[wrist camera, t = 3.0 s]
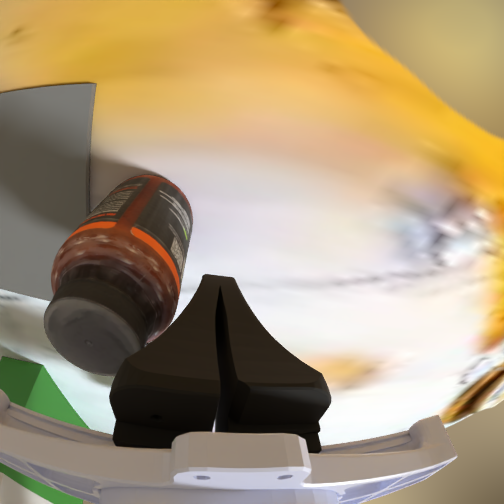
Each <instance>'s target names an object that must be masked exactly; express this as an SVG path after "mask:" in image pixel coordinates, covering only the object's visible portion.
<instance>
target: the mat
mask: <svg viewBox="0 0 504 504" xmlns="http://www.w3.org/2000/svg"><path fill="white" fill-rule="evenodd" d="M95 91H96V84H73V85H59V86H49V87H40V88H32V89H24V90H18V91H12V92H6V93H0V289H4V290H7V291H11V292H15V293H19V294H23V295H27V296H31V297H35V298H39V299H43V300H47V301H52V299H53V296H54V294H53V290H52V286H51V271H52V266H53V262H54V259H55V257H56V255H57V253H58V251H59V249H60V248H61V246H62V245H63V244H64V242H65V241H66V240H67V239H68V238H69V237H70V235H71V234H72V233H73V232H74V231H75V230H76V229H77V228H78V226H79V225H80V224H81V223H82V222H83V221H84V220H85V219H86V218H87V217H88V216H89V215H90V208H89V166H90V143H91V128H92V117H93V107H94V99H95Z"/></svg>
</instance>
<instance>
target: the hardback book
mask: <svg viewBox="0 0 504 504" xmlns="http://www.w3.org/2000/svg"><path fill="white" fill-rule="evenodd" d="M0 389H1V390H2V391H4V392H5V394H6V395H7V396H8V398H9V400H10V402H12V403H15V404H17V405H19V406H22V407H24V408H27V409H29V410H32V411H34V412H37V413H40V414H43V415H45V416H48V417H51V418H54V419H57V420H60V421H63V422H66V423H70V424H73V425H76V426H80V427H83V428H87V429H89V427H88V426H87V425H86V424H85V423H84V421H83V420H82V419H81V418H80V416H79V415H78V414H77V413H76V411H75V410H74V409H73V407H72V406H71V405H70V403H69V402H68V401H67V399H66V398H65V397H64V395H63V394H62V393H61V391H60V390H59V388H58V387H57V385H56V384H55V382H54V381H53V379H52V378H51V376H50V375H49V373H48V372H47V370H46V369H45V367H44V366H43V365H41V364H35V363H30V362H26V361H21V360H16V359H12V358H8V357H4V356H3V357H2V359H1V361H0ZM0 504H83V500H82V499H79V498H77V497H74V496H71V495H69V494H66V493H64V492H61V491H59V490H56V489H54V488H51V487H49V486H47V485H45V484H42V483H40V482H38V481H36V480H34V479H32V478H30V477H28V476H26V475H24V474H22V473H20V472H18V471H16V470H14V469H12V468H10V467H8V466H6V465H4V464H2V463H1V462H0Z"/></svg>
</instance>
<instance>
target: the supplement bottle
mask: <svg viewBox="0 0 504 504" xmlns="http://www.w3.org/2000/svg"><path fill="white" fill-rule="evenodd" d="M192 225H193V216H192V210H191V207H190V204H189V201H188V200H187V198H186V196H185V195H184V193H183V192H182V191H181V190H180V189H179V188H178V187H177V186H176V185H175V184H173V183H172V182H170V181H168V180H166V179H164V178H161V177H158V176H152V175H141V176H136V177H133V178H130V179H128V180H126V181H125V182H123V183H122V184H120V185H119V186H117V187H116V188H115V189H114V190H113V191H112V192H111V193H110V194H109V195H108V196H107V197H106V198H105V199H104V200H103V201H102V202H101V203H100V204H99V205H98V206H97V207H96V208H95V209H94V210H93V211H92V212H91V214H90V215H89V216H88V217H87V218H86V219H85V220H84V221H83V222H82V223H81V224H80V225H79V226H78V228H77V229H76V230H75V231H74V232H73V233H72V234H71V235H70V237H69V238H68V239H67V240H66V241H65V242H64V244H63V245H62V246H61V248H60V249H59V251H58V253H57V255H56V257H55V259H54V262H53V266H52V271H51V286H52V290H53V294H54V296H53V299H52V301H51V302H50V304H49V305H48V307H47V309H46V311H45V314H44V328H45V331H46V334H47V337H48V338H49V340H50V342H51V343H52V345H53V346H54V347H55V349H56V350H57V351H58V352H59V353H60V354H61V355H62V356H63V357H64V358H65V359H66V360H68V361H69V362H71V363H72V364H74V365H75V366H77V367H79V368H81V369H83V370H85V371H88V372H91V373H95V374H99V375H103V376H116V374H117V372H118V370H119V368H120V366H121V364H122V363H123V361H124V359H125V358H127V357H129V356H130V355H132V354H134V353H136V352H137V351H139V350H141V349H142V348H144V347H145V344H146V343H148V342H150V341H153V340H154V339H156V338H157V337H158V336H159V335H161V334H162V333H163V332H164V331H165V330H166V329H167V328H168V327H169V325H170V324H171V322H172V320H173V317H174V315H175V312H176V309H177V305H178V299H179V294H180V289H181V283H182V278H183V272H184V268H185V262H186V257H187V252H188V247H189V242H190V238H191V233H192Z"/></svg>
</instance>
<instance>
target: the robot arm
mask: <svg viewBox="0 0 504 504" xmlns="http://www.w3.org/2000/svg"><path fill="white" fill-rule="evenodd" d="M109 399H110V404H111V407H112V410H113V413H114V415H115V418H116V423H115V428H114V433H113V435H111V434H107V433H103V432H99V431H95V430H91V429H87V428H83V427H80V426H76V425H73V424H70V423H66V422H63V421H60V420H57V419H54V418H51V417H48V416H45V415H43V414H40V413H37V412H34V411H32V410H29V409H27V408H24V407H22V406H19V405H17V404H15V403H12V402H10V400H9V398H8V396H7V395H6V394H5V392H4V391H2V390H1V389H0V462H1V463H2V464H4V465H6V466H8V467H10V468H12V469H14V470H16V471H18V472H20V473H22V474H24V475H26V476H28V477H30V478H32V479H34V480H36V481H38V482H40V483H42V484H45V485H47V486H49V487H51V488H54V489H56V490H59V491H61V492H64V493H66V494H69V495H71V496H74V497H77V498H79V499H82V500H86V501H88V502H91V503H95V504H360V503H363V502H366V501H369V500H372V499H375V498H378V497H381V496H384V495H387V494H390V493H392V492H395V491H397V490H400V489H403V488H405V487H408V486H411V485H413V484H415V483H418V482H421V481H423V480H425V479H426V478H428V477H430V476H431V475H433V474H434V473H436V472H437V471H439V470H440V469H442V468H443V467H444V466H446V465H447V464H449V463H450V462H451V461H453V460H454V459H455V458H457V453H456V451H455V449H454V447H453V445H452V442H451V440H450V438H449V436H448V434H447V432H446V430H445V427H444V425H443V423H442V421H441V419H440V417H439V415H435V416H432V417H428V418H425V419H421V420H419V421H417V422H416V423H415V424H413V425H412V426H411V427H410V428H409V430H407V431H403V432H399V433H395V434H390V435H386V436H381V437H376V438H371V439H366V440H360V441H354V442H348V443H341V444H334V445H326V446H321V444H320V440H319V436H318V433H319V432H320V425H319V422H318V421H319V420H320V418H321V417H322V416H323V414H324V413H325V412H326V410H327V409H328V408H329V406H330V404H331V395H330V392H329V389H328V386H327V384H326V381H325V379H324V377H323V375H322V373H320V372H318V371H317V370H315V369H313V368H312V367H310V366H308V365H307V364H305V363H304V362H302V361H301V360H299V359H298V358H297V357H295V356H294V355H292V354H291V353H290V352H289V351H287V350H286V349H285V348H284V347H283V346H282V345H281V344H280V343H278V342H277V341H276V340H275V339H274V338H273V337H272V336H271V335H270V334H269V332H268V331H267V330H266V329H265V328H264V327H263V325H262V324H261V323H260V322H259V320H258V319H257V317H256V316H255V315H254V313H253V312H252V310H251V309H250V307H249V305H248V304H247V302H246V300H245V299H244V297H243V295H242V293H241V291H240V289H239V287H238V285H237V283H236V280H235V279H234V278H233V277H225V276H217V275H209V274H205V275H203V276H202V280H201V283H200V285H199V287H198V289H197V291H196V293H195V294H194V296H193V298H192V299H191V301H190V302H189V304H188V305H187V306H186V308H185V309H184V310H183V312H182V313H181V314H180V315H179V317H178V318H177V319H176V320H175V321H174V322H173V323H172V324H171V325H170V326H169V327H168V328H167V329H166V330H165V331H164V332H163V333H162V334H161V335H159V336H158V337H157V338H156V339H154V340H153V341H152V342H150V343H149V344H148V345H145V347H144V348H142V349H141V350H139V351H137V352H136V353H134V354H132V355H130V356H129V357H127V358H125V359H124V361H123V363H122V364H121V366H120V368H119V370H118V372H117V374H116V376H115V378H114V381H113V384H112V387H111V391H110V395H109Z"/></svg>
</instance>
